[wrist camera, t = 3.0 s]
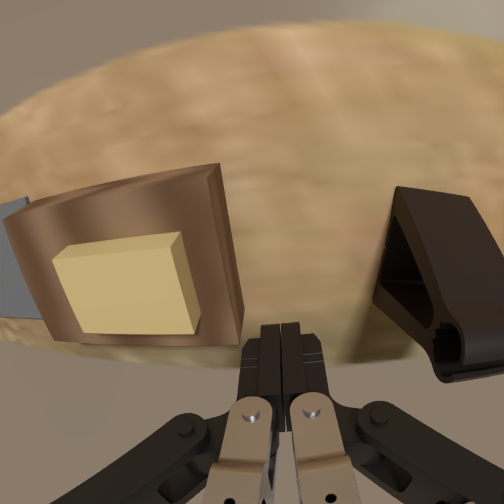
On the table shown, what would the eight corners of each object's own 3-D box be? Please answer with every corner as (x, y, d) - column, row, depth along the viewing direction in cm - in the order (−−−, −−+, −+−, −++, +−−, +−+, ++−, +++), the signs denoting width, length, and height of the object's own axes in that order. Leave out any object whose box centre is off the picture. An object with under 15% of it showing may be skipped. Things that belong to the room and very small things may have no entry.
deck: (219, 162, 19) (206, 177, 16) (244, 309, 24) (239, 344, 20) (33, 201, 21) (2, 219, 18) (75, 313, 26) (54, 340, 22)
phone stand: (396, 184, 19) (503, 278, 8) (466, 195, 19) (579, 280, 8) (371, 299, 23) (418, 432, 12) (436, 301, 23) (500, 414, 12)
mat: (27, 196, 21) (24, 197, 21) (73, 317, 26) (71, 319, 26) (-48, 222, 23) (-50, 224, 22) (-10, 313, 28) (-12, 315, 28)
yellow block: (180, 231, 17) (169, 247, 15) (201, 313, 20) (194, 334, 18) (68, 245, 18) (51, 259, 16) (96, 315, 20) (83, 332, 19)
